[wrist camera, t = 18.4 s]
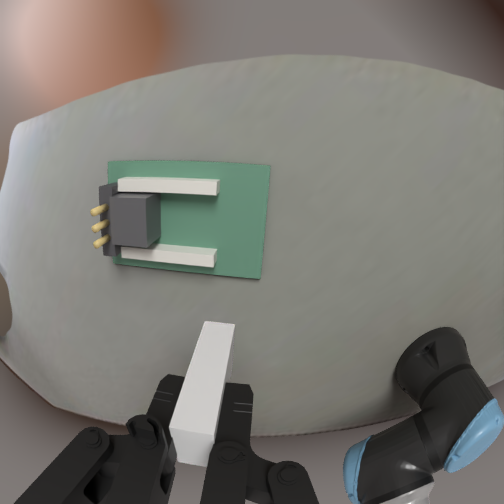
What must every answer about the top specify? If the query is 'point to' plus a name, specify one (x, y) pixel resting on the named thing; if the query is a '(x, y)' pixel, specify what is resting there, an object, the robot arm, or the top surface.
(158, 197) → the plug
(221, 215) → the header board
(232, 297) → the top surface
